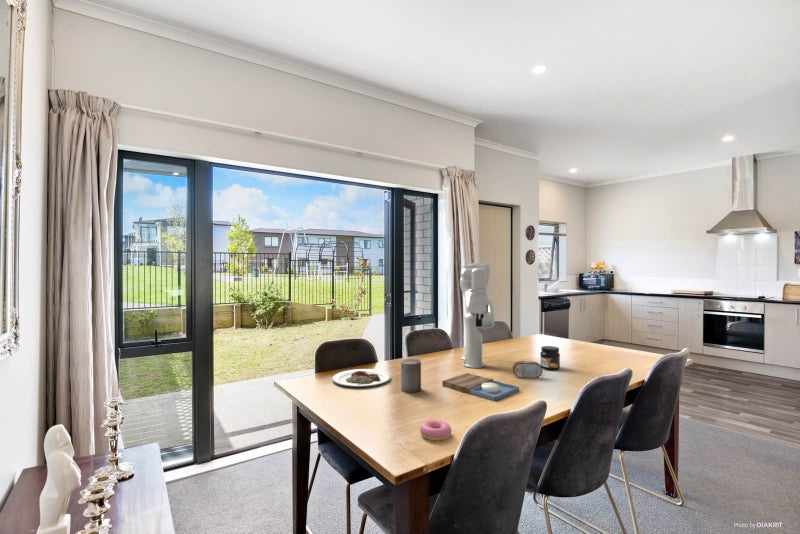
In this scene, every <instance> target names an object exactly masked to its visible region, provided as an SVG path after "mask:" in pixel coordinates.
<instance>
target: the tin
mask: <svg viewBox="0 0 800 534" xmlns="http://www.w3.org/2000/svg"><path fill="white" fill-rule="evenodd" d="M540 365H541V363H538V362H537V361H525V360H524V361H523V360H521V361H517V362H515V363H514V364H513V365H512V372H513V374H514V376H515V377H517V378H520V379H537V378H540V377H541V376H542V375H543V369H542V367H541V366H540Z"/></svg>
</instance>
